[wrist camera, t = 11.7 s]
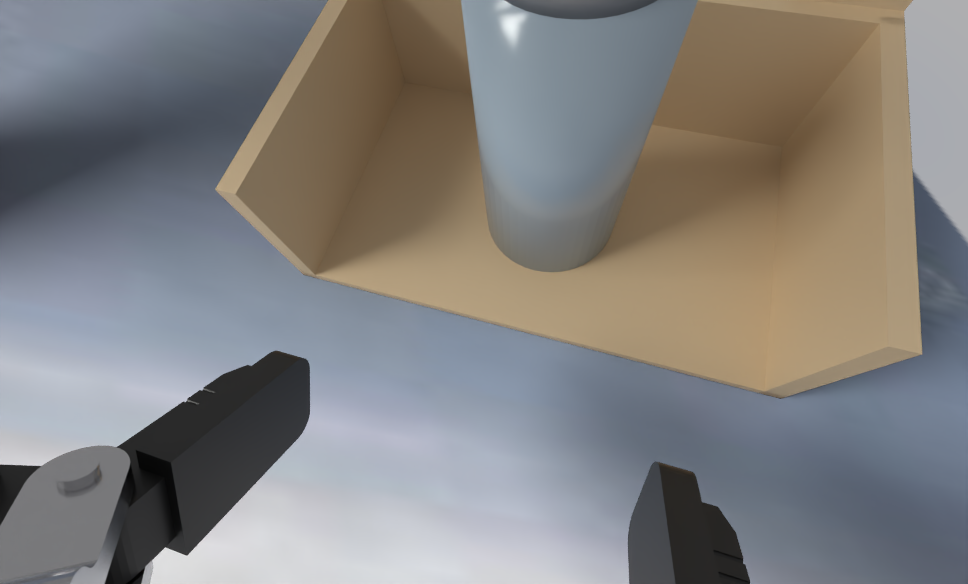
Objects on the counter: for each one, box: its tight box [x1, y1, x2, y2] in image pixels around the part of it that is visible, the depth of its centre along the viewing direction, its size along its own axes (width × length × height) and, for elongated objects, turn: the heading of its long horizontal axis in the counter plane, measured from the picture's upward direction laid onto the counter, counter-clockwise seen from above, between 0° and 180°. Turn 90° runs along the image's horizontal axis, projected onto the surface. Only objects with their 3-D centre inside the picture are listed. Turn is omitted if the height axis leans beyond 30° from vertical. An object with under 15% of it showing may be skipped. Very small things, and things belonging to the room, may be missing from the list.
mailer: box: [215, 0, 922, 399], centre depth 16 cm, size 22×14×14 cm, turn 73°
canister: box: [461, 0, 698, 272], centre depth 16 cm, size 6×6×13 cm
